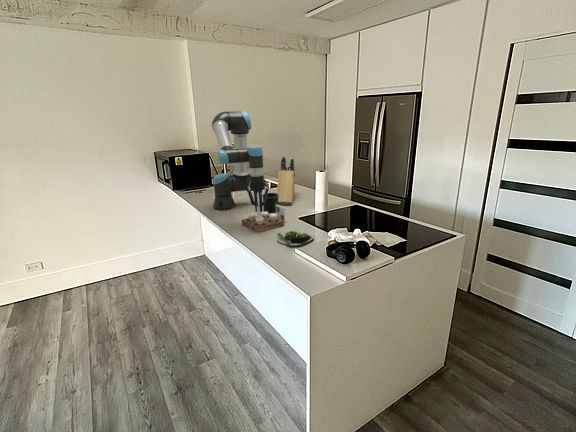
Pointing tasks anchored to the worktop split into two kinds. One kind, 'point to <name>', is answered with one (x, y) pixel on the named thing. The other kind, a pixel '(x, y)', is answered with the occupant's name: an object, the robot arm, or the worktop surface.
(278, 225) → the board
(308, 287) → the worktop surface
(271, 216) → the button
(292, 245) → the salad plate
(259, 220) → the button
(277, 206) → the card
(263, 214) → the button
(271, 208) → the mug
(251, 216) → the button
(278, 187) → the knife block
